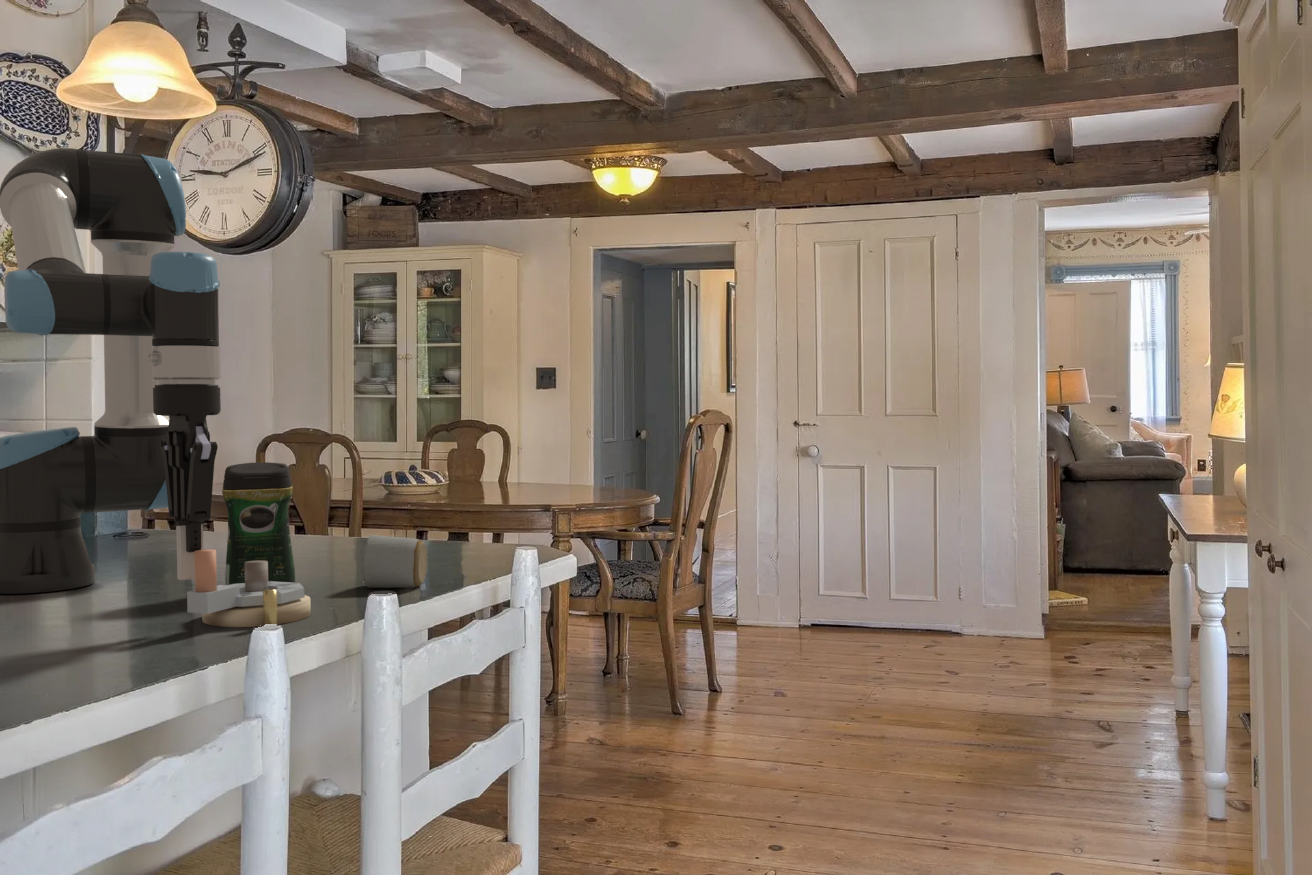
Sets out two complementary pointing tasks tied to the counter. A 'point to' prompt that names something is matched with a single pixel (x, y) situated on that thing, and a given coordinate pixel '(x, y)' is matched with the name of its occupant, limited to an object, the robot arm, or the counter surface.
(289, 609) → the pedestal
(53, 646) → the counter surface
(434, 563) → the counter surface
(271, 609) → the dowel pin
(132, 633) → the counter surface
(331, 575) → the counter surface
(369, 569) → the ceramic mug
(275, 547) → the coffee jar
